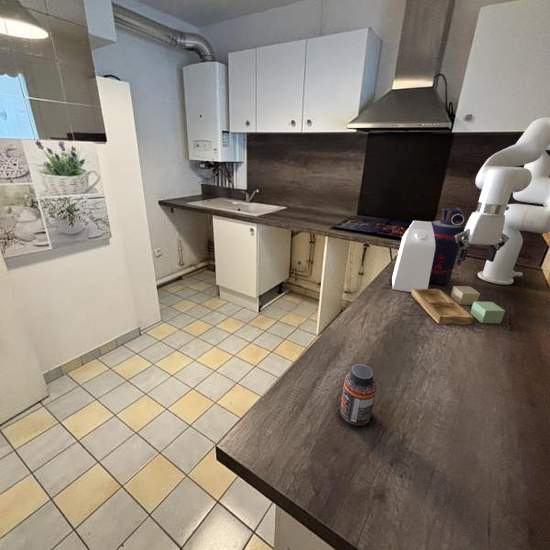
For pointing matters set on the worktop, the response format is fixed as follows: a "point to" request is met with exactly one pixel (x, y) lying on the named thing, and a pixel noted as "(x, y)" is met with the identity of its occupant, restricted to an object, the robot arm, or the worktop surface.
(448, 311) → the divided wooden tray
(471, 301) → the tan block
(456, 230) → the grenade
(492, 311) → the green block
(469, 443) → the worktop surface
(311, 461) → the worktop surface
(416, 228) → the milk
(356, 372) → the supplement bottle
